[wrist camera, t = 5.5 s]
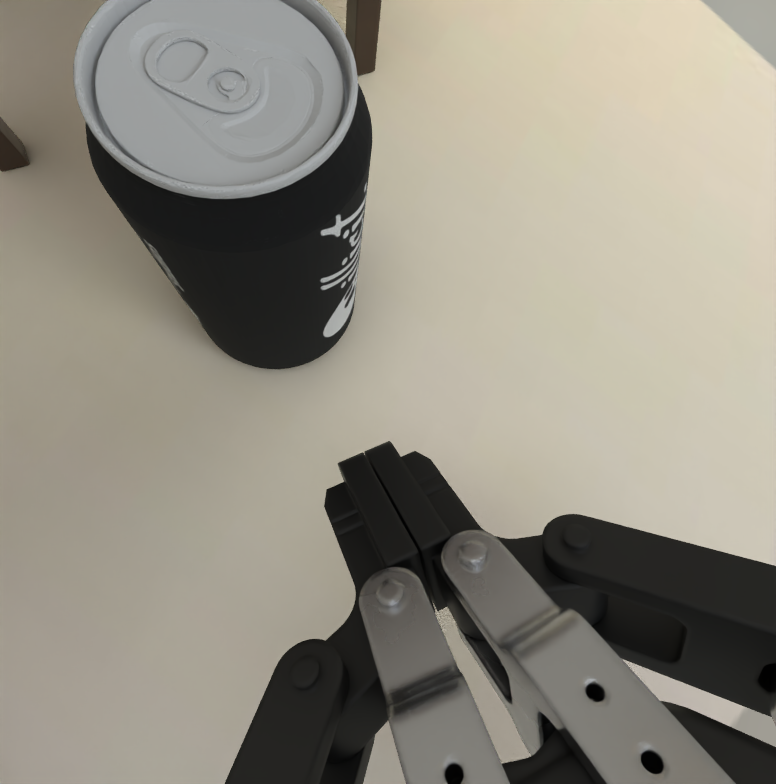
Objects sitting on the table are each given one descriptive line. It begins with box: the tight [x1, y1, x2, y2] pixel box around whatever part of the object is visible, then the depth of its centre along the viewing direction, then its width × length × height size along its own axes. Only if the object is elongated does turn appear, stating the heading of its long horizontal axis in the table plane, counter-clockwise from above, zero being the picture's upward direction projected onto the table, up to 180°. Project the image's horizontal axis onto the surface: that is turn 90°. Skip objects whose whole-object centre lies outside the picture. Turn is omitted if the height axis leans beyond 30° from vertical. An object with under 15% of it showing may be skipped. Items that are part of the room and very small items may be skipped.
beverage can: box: [73, 0, 372, 369], centre depth 16 cm, size 7×7×12 cm
